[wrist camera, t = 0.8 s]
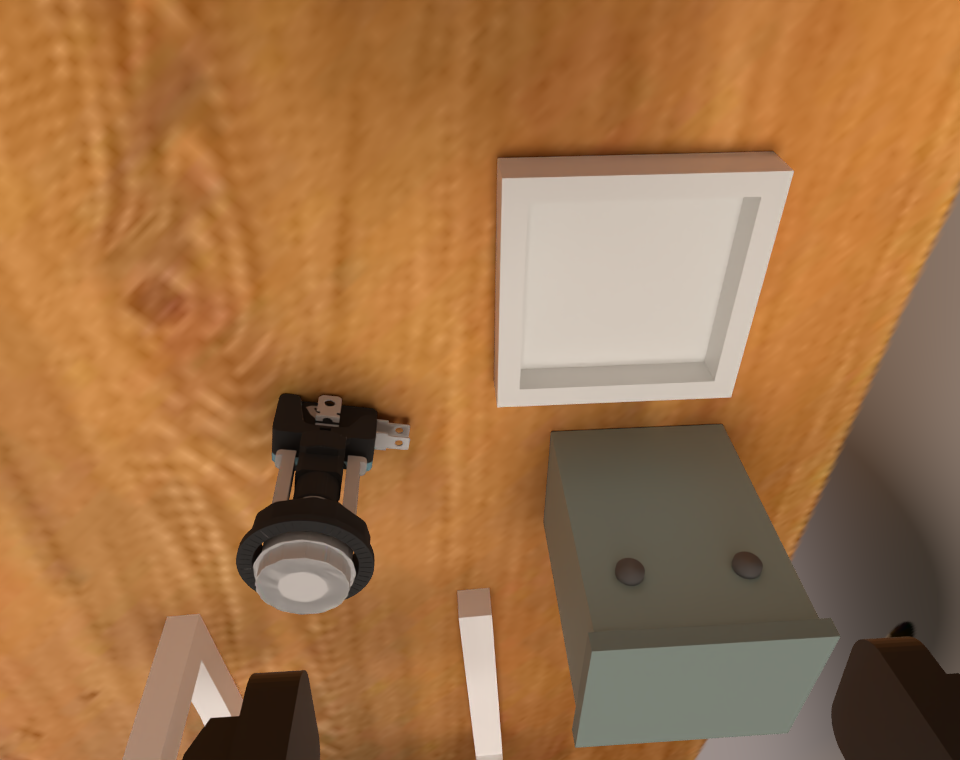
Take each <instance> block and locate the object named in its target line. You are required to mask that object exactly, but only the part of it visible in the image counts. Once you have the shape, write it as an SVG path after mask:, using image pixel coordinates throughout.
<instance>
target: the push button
mask: <svg viewBox="0 0 960 760" xmlns="http://www.w3.org/2000/svg"><path fill="white" fill-rule="evenodd" d="M326 401H333V402H334V403H335V404H325V402H326ZM341 404H342V399H341V398H340V397H338V396H328V395H322V396H320V397H319V400H318V403H315V402H305V401H301V397H300V396H298V395H294V394H283V395H281V396H280V397H279V401H278V406H277V410H276V414H275V418H274V422H273V432H272V433H273V434H272V460H273V461H274V462H275V466H276V467H277V468H279V473H278V477H277V482H276V487H275V492H274V496H273V501H272V504H271V505H269V506H268V507H266V508H265V509H263V510H262V511H260V512H259V513H258V514H257V516H256V518H255V521H254V524H253V527H252V529H251V530H250V531H249V532H248V533H247V534H246V535H245V536H244V537H243V539H242V541H241V542H240V545H239V548H238V552H237V557H236V565H237V569H238V572H239V574H240V576H241V577H242V579H243V580H244V581H245V583H246V584H247V585H248V586H250V587H251V588H252V589H253V590H255V591H256V592H257V593H258V594H259V595H260V597H261V599H262V600H264V602H265V603H267V604H269V605H271V606H273V607H275V608H276V609H278V610H281V611H285V612H290V613H296V614H314V613H322V612H325V611H327V610H330V609H332V608H335V607H337V606H338V605H339V604H341V603H342V602H343V600H345V599H348V598H350V597H352V596H354V595H355V594H357V593H358V592H360V591H361V590H362V589H363V588H364V587H365V586H366V585H367V584H368V583H369V581H370V579H371V577H372V575H373V571H374V553H373V549H372V547H371V545H370V534H369V531H368V528H367V525H366V523H365V522H364V521H363V520H362V519H361V518H359V517H358V516H356V513H357V501H358V490H359V479H360V476H363V475H364V474H365V473H366V471H369V470H370V469H371V468H372V462H373V455H374V449H378V450H386V448H391V449H402V450H407V449H408V447H409V442H410V438H409V437H408V436H409V430H410V425H408V424H397V423H388V422H389V420H380V419H377V411H376V410H375V409H373V408H364V407H355V406H345V405H341ZM396 428H402V429H403V432H401V433H398V432H396V431H395V429H396ZM397 440H401V441H402V442H403V444H402V445H396V444H395V441H397ZM343 469H347V471H346V480H345V489H344V498H343V505H341V504H340V503H339V502H338V501H339V500H340V492H341V484H342V475H343ZM294 471H296V473H295V490H294V497H293V500H289V498H290V492H291V487H292V482H293V476H294ZM263 542H264V544H263V546H262V543H263ZM353 551H354V554H353Z"/></svg>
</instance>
